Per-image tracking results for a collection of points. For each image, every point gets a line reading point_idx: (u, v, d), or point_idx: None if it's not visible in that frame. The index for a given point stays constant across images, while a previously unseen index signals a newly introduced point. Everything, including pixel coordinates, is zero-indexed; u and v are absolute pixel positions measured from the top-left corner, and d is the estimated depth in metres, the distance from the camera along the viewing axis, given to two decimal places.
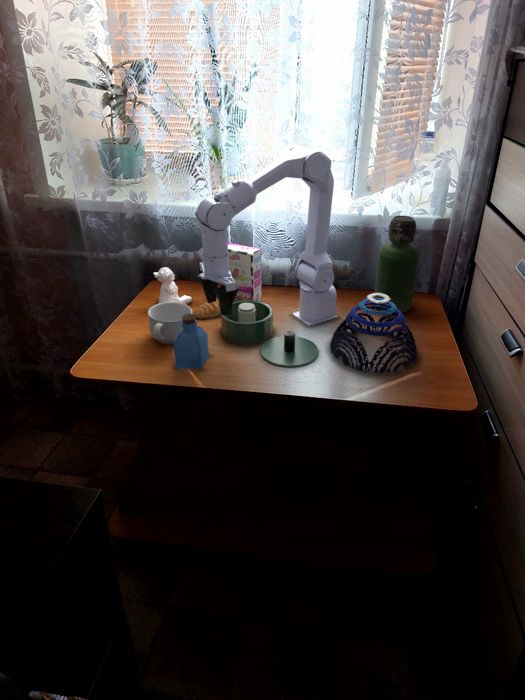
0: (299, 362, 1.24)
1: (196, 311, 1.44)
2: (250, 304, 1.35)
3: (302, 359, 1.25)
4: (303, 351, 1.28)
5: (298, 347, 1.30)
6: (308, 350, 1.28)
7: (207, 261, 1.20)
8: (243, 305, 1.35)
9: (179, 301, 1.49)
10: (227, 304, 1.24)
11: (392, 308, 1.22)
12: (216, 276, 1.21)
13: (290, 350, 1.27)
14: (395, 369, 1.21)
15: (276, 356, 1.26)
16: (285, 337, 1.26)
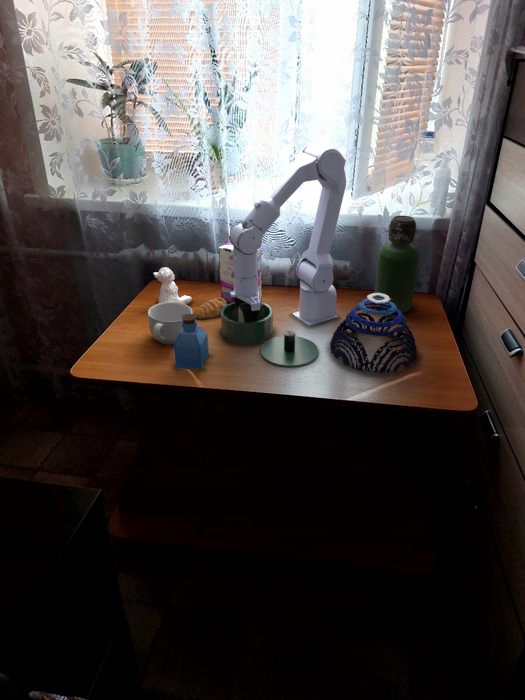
0: (299, 362, 1.24)
1: (196, 311, 1.44)
2: None
3: (302, 359, 1.25)
4: (303, 351, 1.28)
5: (298, 347, 1.30)
6: (308, 350, 1.28)
7: (237, 281, 1.29)
8: None
9: (179, 301, 1.49)
10: (251, 319, 1.33)
11: (392, 308, 1.22)
12: (244, 295, 1.30)
13: (290, 350, 1.27)
14: (395, 369, 1.21)
15: (276, 356, 1.26)
16: (285, 337, 1.26)
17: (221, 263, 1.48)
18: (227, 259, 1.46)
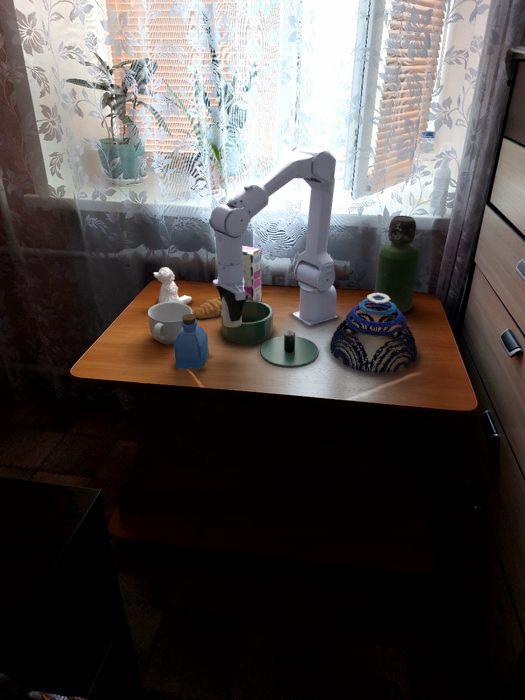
0: (299, 362, 1.24)
1: (196, 311, 1.44)
2: None
3: (302, 359, 1.25)
4: (303, 351, 1.28)
5: (298, 347, 1.30)
6: (308, 350, 1.28)
7: (220, 268, 1.17)
8: None
9: (179, 301, 1.49)
10: (236, 310, 1.22)
11: (392, 308, 1.22)
12: (228, 284, 1.18)
13: (290, 350, 1.27)
14: (395, 369, 1.21)
15: (276, 356, 1.26)
16: (285, 337, 1.26)
17: None
18: None
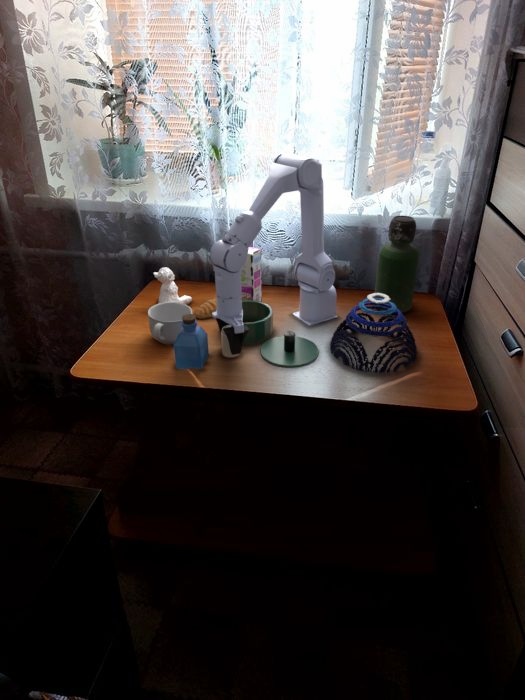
0: (299, 362, 1.24)
1: (196, 311, 1.44)
2: None
3: (302, 359, 1.25)
4: (303, 351, 1.28)
5: (298, 347, 1.30)
6: (308, 350, 1.28)
7: (219, 301, 1.20)
8: None
9: (179, 301, 1.49)
10: (237, 344, 1.23)
11: (392, 308, 1.22)
12: (227, 316, 1.21)
13: (290, 350, 1.27)
14: (395, 369, 1.21)
15: (276, 356, 1.26)
16: (285, 337, 1.26)
17: None
18: None
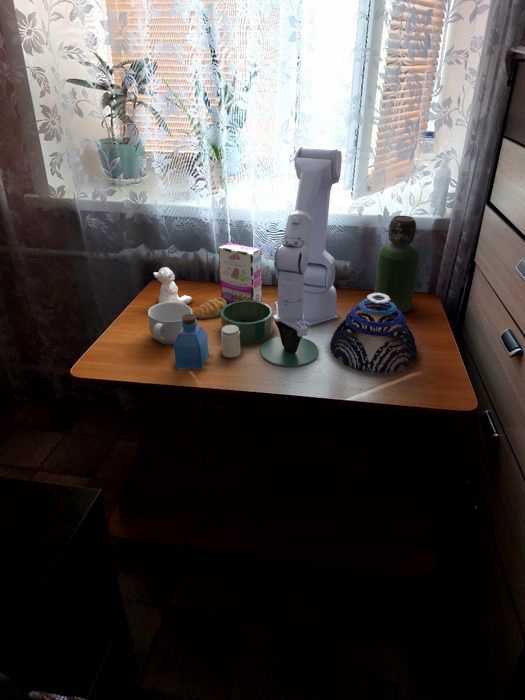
0: (299, 362, 1.24)
1: (196, 311, 1.44)
2: (234, 326, 1.26)
3: (302, 359, 1.25)
4: (303, 351, 1.28)
5: (298, 347, 1.30)
6: (308, 350, 1.28)
7: (281, 304, 1.20)
8: (226, 328, 1.26)
9: (179, 301, 1.49)
10: (294, 343, 1.25)
11: (392, 308, 1.22)
12: (289, 319, 1.21)
13: None
14: (395, 369, 1.21)
15: (276, 356, 1.26)
16: None
17: (221, 263, 1.48)
18: (227, 259, 1.46)
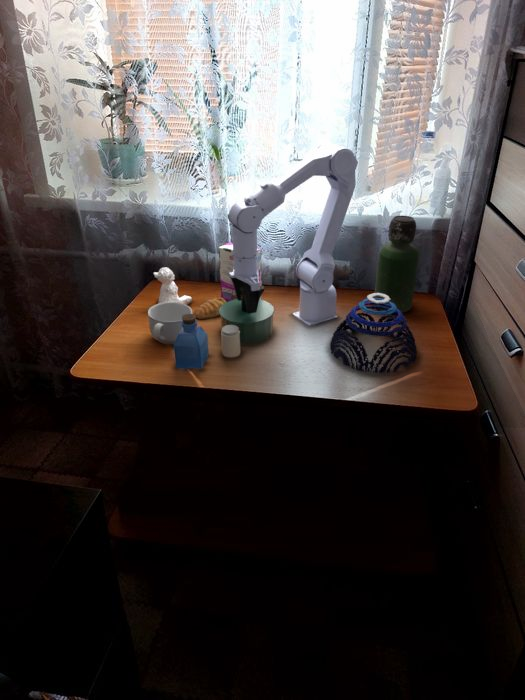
0: (254, 320, 1.30)
1: (196, 311, 1.44)
2: (234, 326, 1.26)
3: (257, 317, 1.31)
4: (259, 311, 1.34)
5: None
6: (264, 310, 1.35)
7: (236, 261, 1.26)
8: (226, 328, 1.26)
9: (179, 301, 1.49)
10: (253, 303, 1.30)
11: (392, 308, 1.22)
12: (244, 276, 1.27)
13: None
14: (395, 369, 1.21)
15: (233, 315, 1.33)
16: (241, 297, 1.32)
17: (221, 263, 1.48)
18: (227, 259, 1.46)
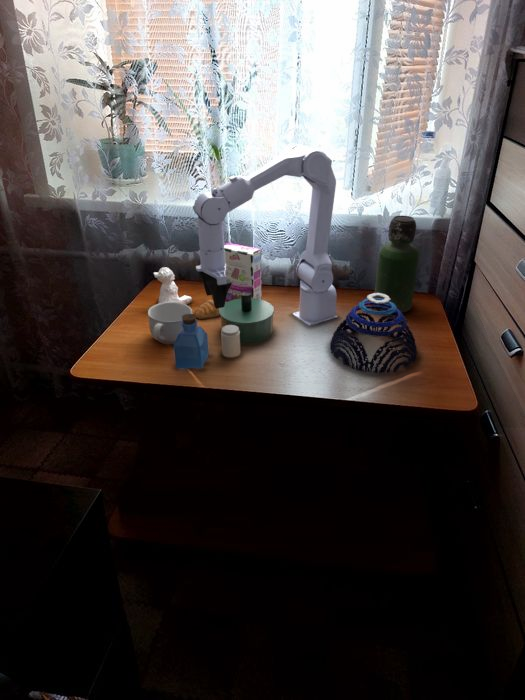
0: (254, 320, 1.30)
1: (196, 311, 1.44)
2: (234, 326, 1.26)
3: (257, 317, 1.31)
4: (259, 311, 1.34)
5: (255, 307, 1.36)
6: (264, 310, 1.35)
7: (202, 254, 1.23)
8: (226, 328, 1.26)
9: (179, 301, 1.49)
10: (220, 297, 1.26)
11: (392, 308, 1.22)
12: (210, 269, 1.23)
13: (247, 310, 1.34)
14: (395, 369, 1.21)
15: (233, 315, 1.33)
16: (241, 297, 1.32)
17: None
18: (227, 259, 1.46)
